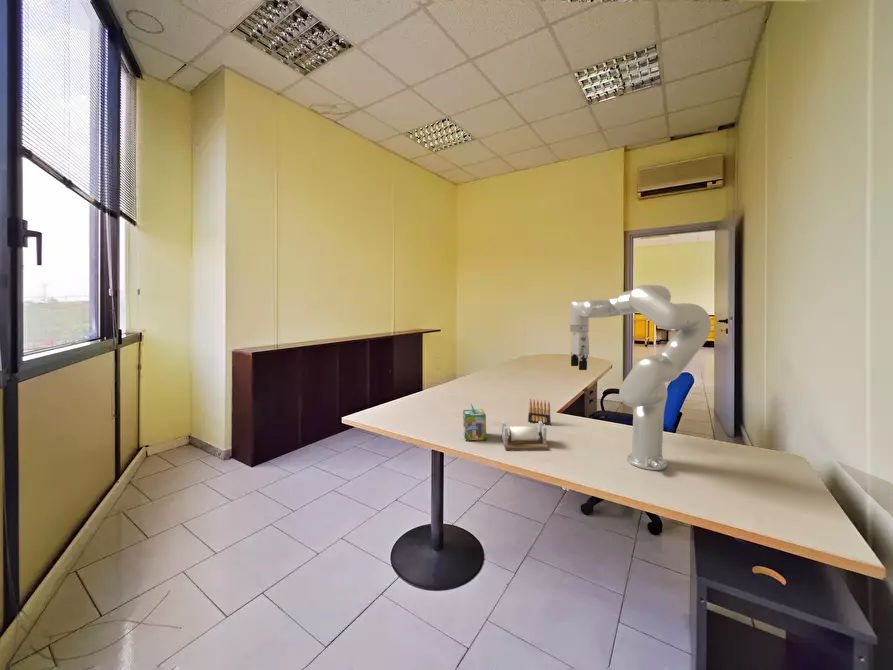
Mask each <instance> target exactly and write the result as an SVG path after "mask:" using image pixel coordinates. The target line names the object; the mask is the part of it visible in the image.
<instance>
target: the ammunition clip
mask: <svg viewBox="0 0 893 670" xmlns="http://www.w3.org/2000/svg"><path fill="white" fill-rule="evenodd" d="M528 403H529V404H528V416H527V423H528V422H530V424H535V423H538V422H539V421H541V422H542V423H543V424H545V426H549V425H550V426H551V405H550V404H551V403H550V400H547V402H546V400H544V401H543V400H542V399H540V402H539V399H538V398H537V399H536V401H535V399H533V400H532V398H530V399H529V402H528Z"/></svg>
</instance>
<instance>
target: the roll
mask: <svg viewBox="0 0 893 670" xmlns="http://www.w3.org/2000/svg"><path fill="white" fill-rule="evenodd" d="M508 435H509V436H510V441H533V440H538V426H536V425H535V426H532V425H531V426H525V425H524V426H509V429H508Z"/></svg>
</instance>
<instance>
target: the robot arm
mask: <svg viewBox="0 0 893 670" xmlns="http://www.w3.org/2000/svg"><path fill="white" fill-rule="evenodd" d="M671 297H672V295H671V292H670V290H669V288H667V287H665V286H663V285H658V284H640V285H638V286H636V287H634V288H633V289H632V290H628V291H627V290H626V291H623V292H620V294H619V295H618V296H617V297H613V298H612V297H611V298H607V299H587V300H573V301H571V302H570V308H569V309H570V310H569V311H570V316H569V319H570V320H569V321H570V322H569V323H570V324H569V332H570V333H571V336H570V337H571V338H570V366H571V367H578V370H579V371H587V369H588V356H589V355H590V340H589V339H590V338H589V333H590V332H589V326H590V325H589V324H590V321H589V320H590V319H594V318H595V319H597V318H598V319H601V318H602V319H603V318H611V317H618V316H623V315H630V314H631V315H632V314H636V313H639V314H641V316H643V317H644V318H646V320H649V322H651V323H652V324H654V325H655V326H657V327H658V328H661V330H666V331H677V332H676V333H675V334H674V335H673V336H672V337H671V338H670V339H669V340H668V341H667V343H666V344H665V346H664V347H663V348H662V350H661V351H660V352H659V353H657V354H654V355H648V356H644V357H642V358H641V359H639V360H638V361H637V362H636V363H635V364H634V366H633V367H632V368H631V370H630V371H629V373H628V374H627V376H626V377H625V378H624V380H623V381H622V383H621V385H620V387H619V392H618V395H619V398H620V400H621V402H622V403H623V404H624V405H625V406H627V407H630V408H634V409H633V415H632V418H633V419H632V441H631V443H632V448H631V453H629V454H628V455H627V457H626V458H627V459H626V460H627V462H628V463H629V464H630V465H633V466H634V467H638V468H640V469H644V470H648V471H661V470H662V471H663V470H665V469H667V466H668V463H667V461H666V459H664V456H663V443H664V441H663V440H664V419H665V409H666V403H667V401H668V388H667V385H666V384H665V383H669V382H673V381H675V380H676V379H678V378H679V376H680V375H681V374H682V373H683V371H684V370H685V369H686V367H687V366H688V365H689V364H690V362H691V361H692V359H694V357H695V355H696V354H697V353H698V352H699V351H700V349H701V348H702V347H703V346H704V344H705V343H706V342H707V341H708V338H709V337H710V334H711V330H712V321H711V318H710V316H709V313H708V312H707V311H706V309H705V308H704V307H702V306H701V305H699V304H695V303H691V302H690V303H689V302H688V303H686V302H684V303H683V302H681V303H673V302H671Z"/></svg>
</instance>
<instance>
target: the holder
mask: <svg viewBox="0 0 893 670" xmlns="http://www.w3.org/2000/svg"><path fill="white" fill-rule="evenodd" d="M537 429H538V440H533V441H510V436H509V429H508V426H507V424H506V422H505V421H501V434H500V440H501V441H502V445H503V446H504V450H505V452H507V451H509V452H510V450H515V452H517V451H516V450H519V451H520V450H528V451H549V447H548V445H547V427H546V425H544V424H543V423H542V422H541V421H539V422H538V424H537ZM519 451H518V452H519Z"/></svg>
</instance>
